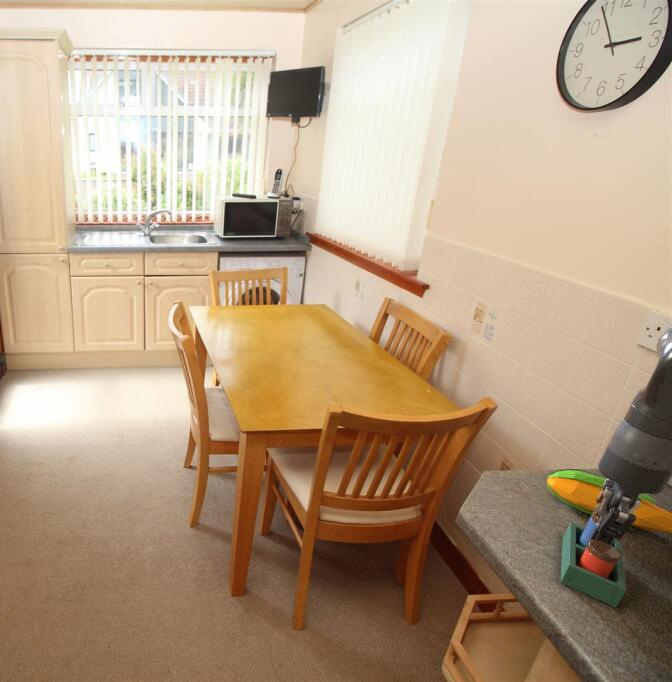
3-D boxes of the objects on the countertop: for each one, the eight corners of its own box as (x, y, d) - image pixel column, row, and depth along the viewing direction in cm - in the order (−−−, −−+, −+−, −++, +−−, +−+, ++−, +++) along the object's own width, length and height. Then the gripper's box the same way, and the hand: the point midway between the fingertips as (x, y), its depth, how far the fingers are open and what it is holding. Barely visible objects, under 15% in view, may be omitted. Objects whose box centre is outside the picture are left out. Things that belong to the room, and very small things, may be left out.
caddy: (612, 558, 79) (621, 542, 78) (616, 607, 70) (626, 590, 69) (562, 537, 83) (570, 522, 82) (560, 582, 74) (569, 565, 73)
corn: (556, 452, 94) (700, 500, 82) (542, 482, 97) (679, 532, 85) (553, 471, 89) (706, 525, 77) (539, 502, 92) (684, 558, 80)
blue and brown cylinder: (606, 545, 78) (622, 517, 76) (607, 558, 75) (623, 529, 73) (578, 534, 80) (593, 506, 78) (578, 546, 77) (593, 518, 75)
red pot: (603, 576, 75) (619, 548, 72) (604, 591, 72) (620, 562, 70) (574, 564, 77) (589, 535, 74) (574, 578, 74) (589, 549, 72)
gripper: (685, 488, 63) (629, 581, 70) (670, 443, 74) (623, 529, 80) (611, 464, 68) (565, 554, 74) (607, 425, 78) (567, 507, 85)
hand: (596, 540), depth 77 cm, fingers closed on blue and brown cylinder, 3 cm apart
